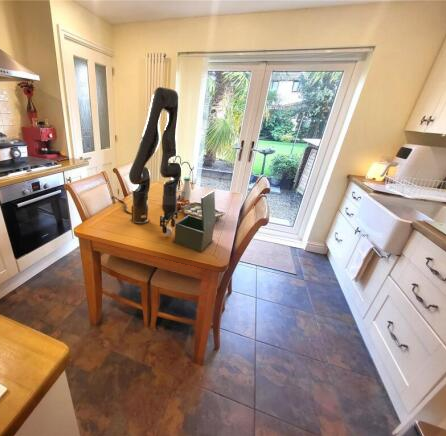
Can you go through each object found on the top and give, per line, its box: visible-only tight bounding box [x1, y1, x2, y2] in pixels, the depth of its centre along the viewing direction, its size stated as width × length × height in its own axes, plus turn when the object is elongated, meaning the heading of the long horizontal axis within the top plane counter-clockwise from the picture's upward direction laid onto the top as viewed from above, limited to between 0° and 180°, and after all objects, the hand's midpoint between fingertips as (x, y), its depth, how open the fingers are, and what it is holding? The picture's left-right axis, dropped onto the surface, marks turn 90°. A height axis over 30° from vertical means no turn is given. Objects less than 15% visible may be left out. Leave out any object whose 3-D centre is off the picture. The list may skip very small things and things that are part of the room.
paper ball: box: [162, 226, 173, 238], centre depth 127 cm, size 5×5×5 cm
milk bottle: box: [179, 176, 192, 203], centre depth 168 cm, size 8×8×20 cm
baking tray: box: [179, 201, 227, 221], centre depth 154 cm, size 30×22×5 cm
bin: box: [173, 215, 216, 253], centre depth 122 cm, size 16×14×11 cm
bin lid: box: [200, 190, 216, 232], centre depth 113 cm, size 17×14×1 cm
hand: (168, 229), depth 127 cm, fingers open, 8 cm apart
